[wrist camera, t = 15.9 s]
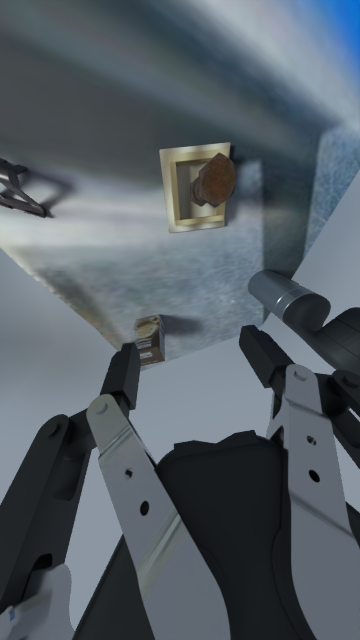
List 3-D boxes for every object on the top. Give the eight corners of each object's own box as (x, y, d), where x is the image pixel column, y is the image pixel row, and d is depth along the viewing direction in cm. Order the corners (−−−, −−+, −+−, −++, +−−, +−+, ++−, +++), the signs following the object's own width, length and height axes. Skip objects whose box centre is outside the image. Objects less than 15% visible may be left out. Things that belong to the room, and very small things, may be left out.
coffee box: (159, 313, 52) (159, 346, 39) (164, 326, 56) (166, 361, 43) (134, 319, 52) (126, 354, 39) (141, 332, 56) (136, 368, 43)
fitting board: (227, 145, 30) (237, 134, 26) (222, 225, 38) (229, 227, 34) (159, 152, 30) (159, 142, 25) (169, 232, 38) (170, 234, 34)
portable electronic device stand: (-2, 204, 31) (-46, 200, 25) (-18, 152, 27) (-77, 131, 20) (47, 217, 34) (19, 218, 27) (39, 171, 29) (3, 158, 23)
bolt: (202, 170, 31) (230, 141, 19) (213, 195, 33) (243, 185, 21) (179, 191, 32) (192, 177, 20) (191, 214, 35) (209, 214, 23)
